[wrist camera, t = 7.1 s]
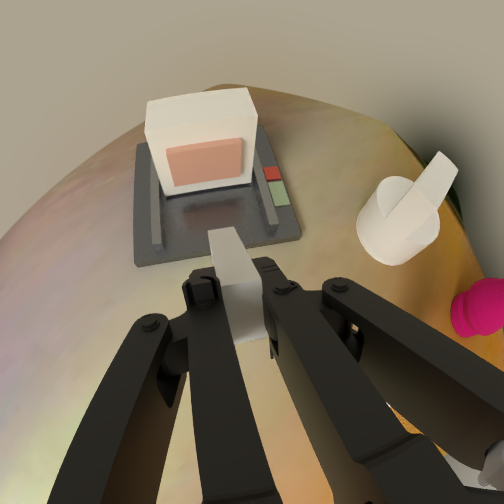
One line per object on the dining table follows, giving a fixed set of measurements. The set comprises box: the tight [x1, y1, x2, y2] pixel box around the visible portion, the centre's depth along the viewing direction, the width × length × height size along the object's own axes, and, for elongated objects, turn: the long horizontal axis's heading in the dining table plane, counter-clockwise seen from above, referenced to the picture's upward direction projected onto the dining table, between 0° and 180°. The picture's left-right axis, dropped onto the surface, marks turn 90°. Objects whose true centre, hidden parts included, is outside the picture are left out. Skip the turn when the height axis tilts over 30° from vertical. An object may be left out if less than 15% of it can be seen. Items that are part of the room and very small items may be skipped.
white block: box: [144, 88, 258, 196], centre depth 26 cm, size 10×6×10 cm, turn 102°
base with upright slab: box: [356, 152, 458, 266], centre depth 26 cm, size 9×9×12 cm
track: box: [133, 125, 301, 267], centre depth 30 cm, size 18×18×6 cm
